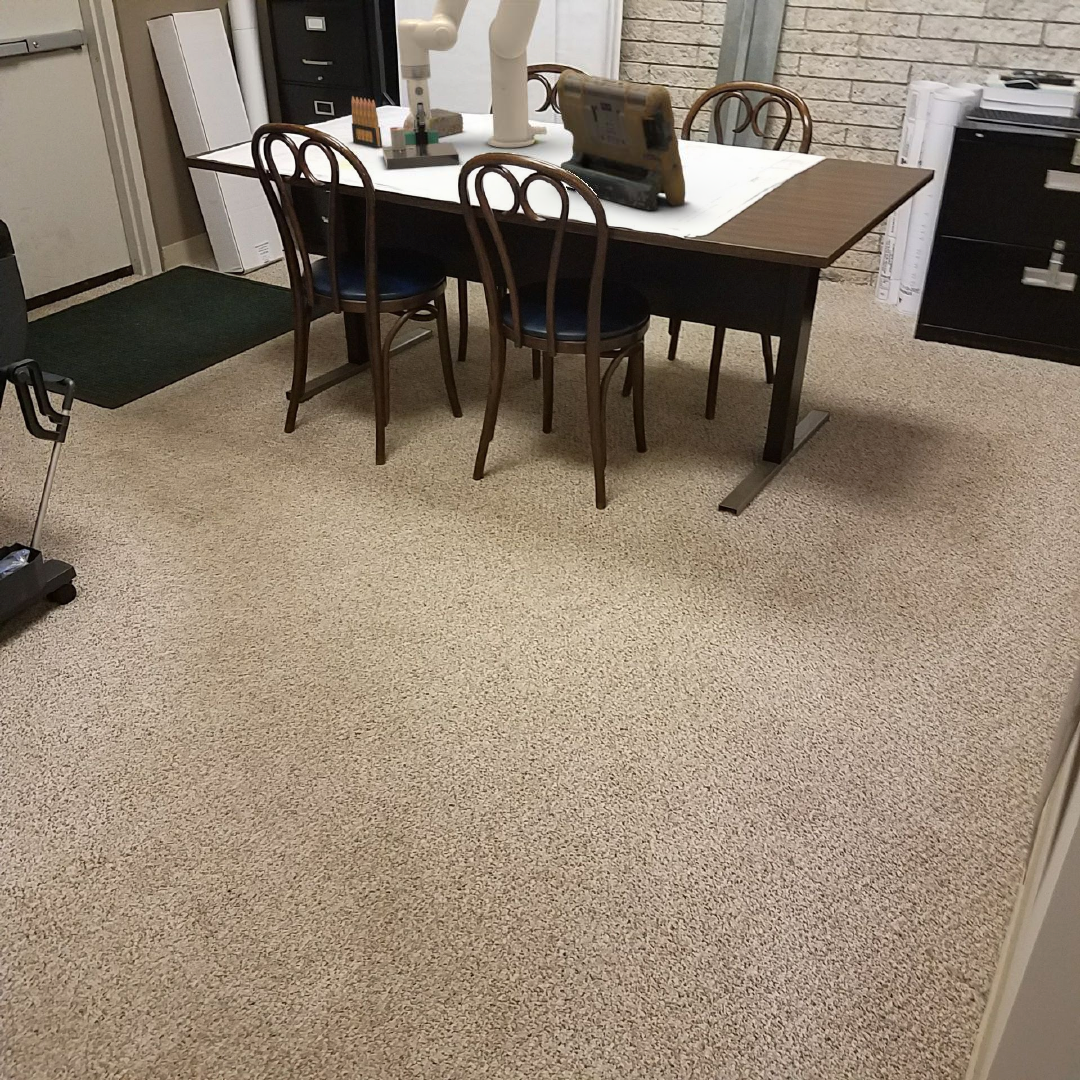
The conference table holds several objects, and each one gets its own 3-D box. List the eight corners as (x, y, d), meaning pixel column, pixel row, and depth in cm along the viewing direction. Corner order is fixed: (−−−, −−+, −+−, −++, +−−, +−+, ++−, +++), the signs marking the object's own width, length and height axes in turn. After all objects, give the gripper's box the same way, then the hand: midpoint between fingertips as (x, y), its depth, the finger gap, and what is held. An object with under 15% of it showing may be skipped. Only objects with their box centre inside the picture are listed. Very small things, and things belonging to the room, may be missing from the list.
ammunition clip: (382, 146, 286) (377, 99, 279) (377, 148, 285) (372, 100, 278) (358, 141, 292) (353, 95, 286) (353, 142, 291) (347, 96, 285)
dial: (405, 147, 273) (403, 125, 271) (406, 150, 270) (404, 128, 268) (391, 147, 273) (389, 126, 270) (392, 151, 270) (390, 129, 267)
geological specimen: (465, 112, 298) (426, 118, 288) (465, 135, 301) (426, 141, 291) (438, 107, 304) (399, 112, 294) (438, 129, 307) (400, 135, 297)
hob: (451, 152, 279) (451, 141, 277) (459, 164, 267) (458, 153, 266) (383, 157, 276) (382, 146, 274) (387, 169, 264) (386, 158, 263)
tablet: (696, 200, 233) (703, 78, 219) (655, 214, 225) (659, 87, 211) (588, 177, 253) (588, 63, 239) (547, 188, 245) (544, 71, 231)
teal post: (439, 147, 284) (438, 132, 282) (393, 150, 282) (392, 135, 280) (437, 144, 287) (436, 129, 285) (392, 147, 285) (391, 132, 283)
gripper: (433, 76, 269) (439, 151, 279) (426, 66, 282) (432, 138, 292) (404, 77, 268) (410, 153, 277) (398, 68, 281) (404, 140, 291)
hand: (421, 145), depth 285 cm, fingers open, 3 cm apart
